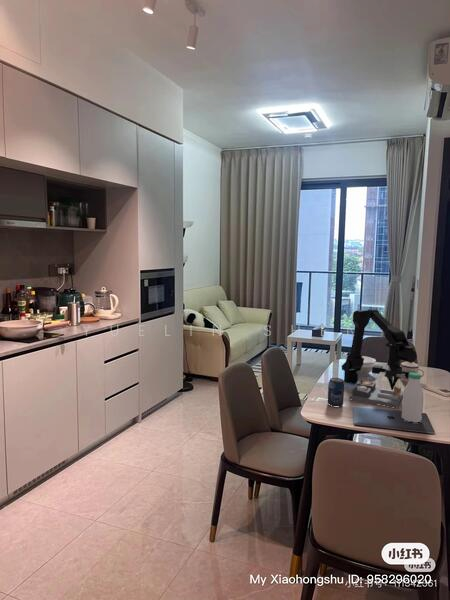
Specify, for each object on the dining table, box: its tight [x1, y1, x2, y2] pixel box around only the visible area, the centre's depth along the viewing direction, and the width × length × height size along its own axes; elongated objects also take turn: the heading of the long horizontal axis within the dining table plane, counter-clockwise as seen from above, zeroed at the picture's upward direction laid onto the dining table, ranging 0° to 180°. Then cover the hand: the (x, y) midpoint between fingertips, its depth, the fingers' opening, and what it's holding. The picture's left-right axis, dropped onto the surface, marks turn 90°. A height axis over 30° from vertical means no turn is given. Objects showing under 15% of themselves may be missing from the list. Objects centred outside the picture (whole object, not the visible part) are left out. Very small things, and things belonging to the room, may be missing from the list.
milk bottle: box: [401, 372, 424, 423], centre depth 178 cm, size 8×8×20 cm
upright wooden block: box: [393, 385, 402, 398], centre depth 202 cm, size 2×5×4 cm, turn 150°
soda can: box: [327, 377, 345, 407], centre depth 195 cm, size 7×7×12 cm
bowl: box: [358, 355, 377, 377], centre depth 247 cm, size 16×16×9 cm
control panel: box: [348, 379, 404, 409], centre depth 206 cm, size 21×20×4 cm
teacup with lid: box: [399, 361, 425, 383], centre depth 234 cm, size 12×9×12 cm
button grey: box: [356, 385, 367, 392], centre depth 205 cm, size 4×4×2 cm
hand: (392, 389), depth 203 cm, fingers closed
